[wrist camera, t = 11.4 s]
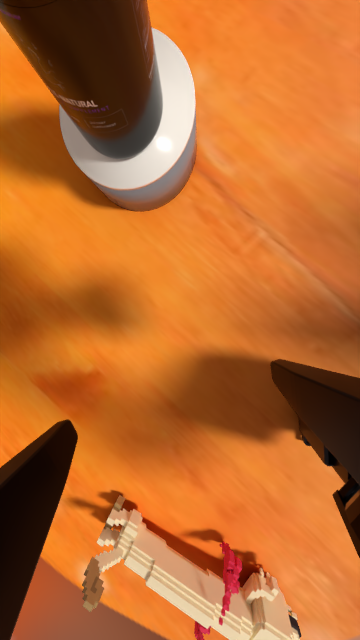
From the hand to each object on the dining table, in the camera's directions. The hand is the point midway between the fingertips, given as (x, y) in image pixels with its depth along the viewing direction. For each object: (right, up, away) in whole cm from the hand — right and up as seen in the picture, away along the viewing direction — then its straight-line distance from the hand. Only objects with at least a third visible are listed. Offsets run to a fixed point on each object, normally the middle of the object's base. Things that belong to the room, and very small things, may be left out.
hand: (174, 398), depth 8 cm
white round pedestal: (-4, +20, +10) cm, 23 cm away
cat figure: (+2, -27, +16) cm, 32 cm away
